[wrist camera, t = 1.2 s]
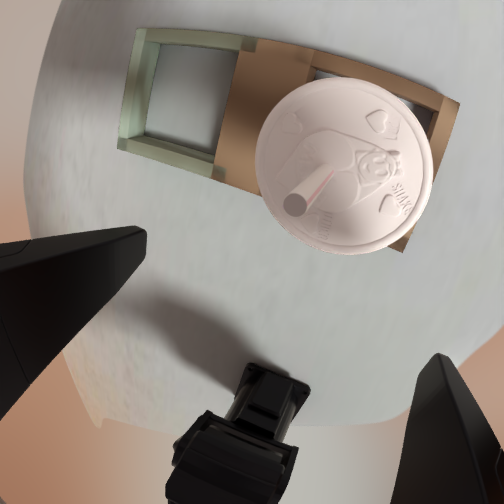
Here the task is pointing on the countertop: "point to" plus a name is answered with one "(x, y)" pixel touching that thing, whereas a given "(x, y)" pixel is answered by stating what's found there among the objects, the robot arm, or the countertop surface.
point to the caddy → (256, 101)
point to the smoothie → (344, 166)
